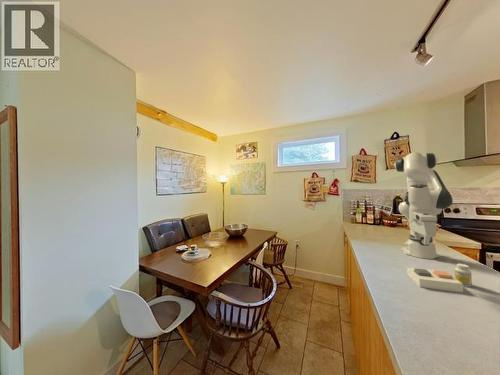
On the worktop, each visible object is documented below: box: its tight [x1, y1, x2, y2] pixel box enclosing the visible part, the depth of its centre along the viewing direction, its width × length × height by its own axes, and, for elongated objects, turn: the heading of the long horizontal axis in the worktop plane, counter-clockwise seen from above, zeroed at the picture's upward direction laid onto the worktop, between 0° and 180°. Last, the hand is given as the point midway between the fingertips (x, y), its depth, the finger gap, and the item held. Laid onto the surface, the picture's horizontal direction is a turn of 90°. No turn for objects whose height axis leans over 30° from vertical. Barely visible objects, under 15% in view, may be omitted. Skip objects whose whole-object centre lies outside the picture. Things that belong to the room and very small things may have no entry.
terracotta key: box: [432, 269, 453, 279], centre depth 94 cm, size 5×5×3 cm
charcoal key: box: [413, 267, 431, 277], centre depth 96 cm, size 5×5×3 cm
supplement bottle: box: [454, 263, 473, 288], centre depth 92 cm, size 5×5×10 cm
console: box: [406, 267, 464, 293], centre depth 95 cm, size 14×16×4 cm
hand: (422, 241), depth 96 cm, fingers open, 8 cm apart
